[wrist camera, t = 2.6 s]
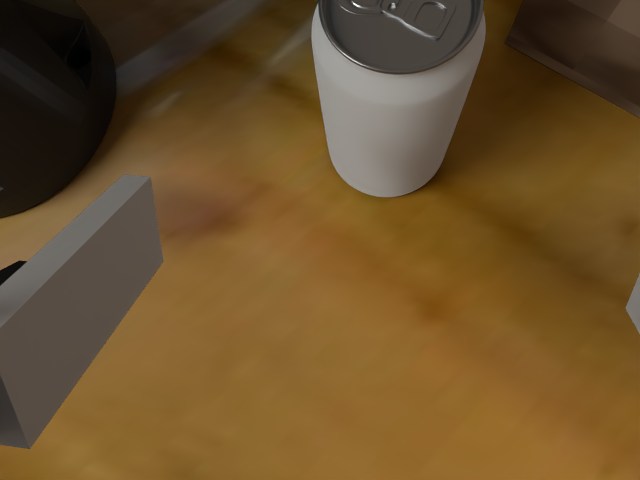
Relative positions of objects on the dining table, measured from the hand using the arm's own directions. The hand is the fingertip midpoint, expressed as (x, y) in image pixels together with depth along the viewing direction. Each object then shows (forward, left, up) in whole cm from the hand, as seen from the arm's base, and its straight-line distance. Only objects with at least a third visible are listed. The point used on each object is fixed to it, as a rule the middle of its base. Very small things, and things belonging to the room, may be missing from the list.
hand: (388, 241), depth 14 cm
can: (-5, +8, -14) cm, 17 cm away
